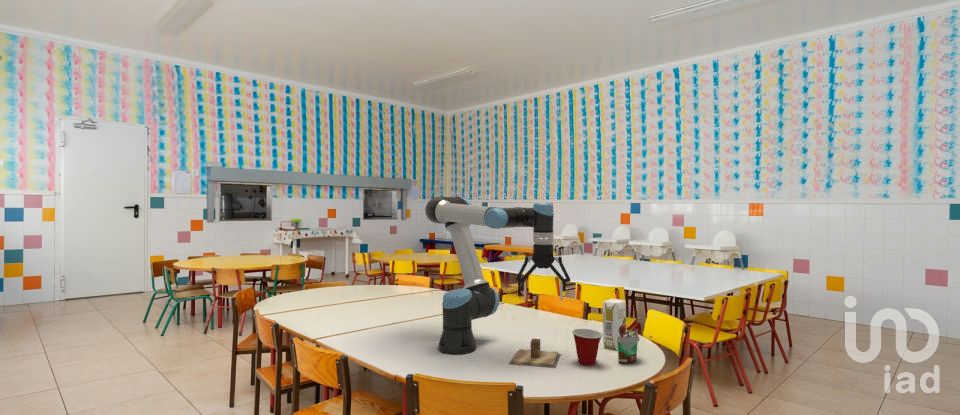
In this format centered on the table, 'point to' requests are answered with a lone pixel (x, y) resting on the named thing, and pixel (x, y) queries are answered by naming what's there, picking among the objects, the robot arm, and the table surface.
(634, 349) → the food container
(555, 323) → the table surface
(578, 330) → the plastic cup
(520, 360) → the lid
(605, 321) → the juice carton
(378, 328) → the table surface
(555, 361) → the mat
